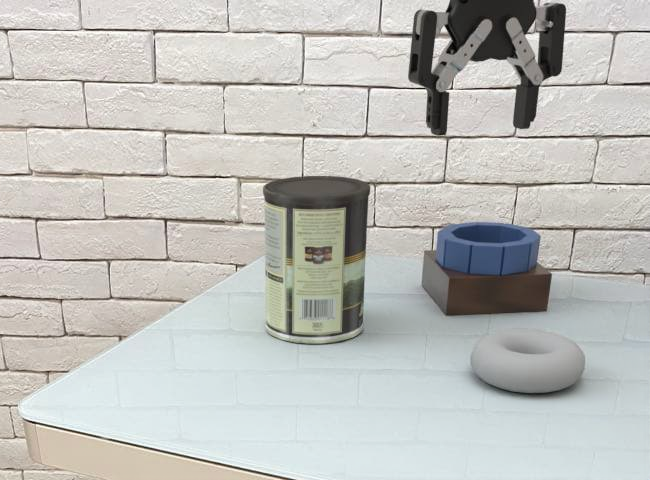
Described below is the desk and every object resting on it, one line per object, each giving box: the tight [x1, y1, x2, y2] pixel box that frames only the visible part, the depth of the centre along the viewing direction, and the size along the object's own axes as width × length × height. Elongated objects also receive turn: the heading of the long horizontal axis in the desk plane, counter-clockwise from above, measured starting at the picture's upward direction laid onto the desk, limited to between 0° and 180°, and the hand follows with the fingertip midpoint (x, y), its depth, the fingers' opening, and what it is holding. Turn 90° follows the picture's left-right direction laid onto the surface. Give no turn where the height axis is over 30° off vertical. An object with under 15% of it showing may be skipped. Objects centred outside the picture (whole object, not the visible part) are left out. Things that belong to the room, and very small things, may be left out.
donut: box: [469, 328, 586, 394], centre depth 86 cm, size 10×4×10 cm
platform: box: [421, 249, 553, 316], centre depth 106 cm, size 11×11×4 cm
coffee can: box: [262, 175, 371, 345], centre depth 96 cm, size 10×10×14 cm
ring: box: [435, 221, 542, 275], centre depth 104 cm, size 10×11×3 cm
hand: (480, 131), depth 91 cm, fingers open, 8 cm apart
